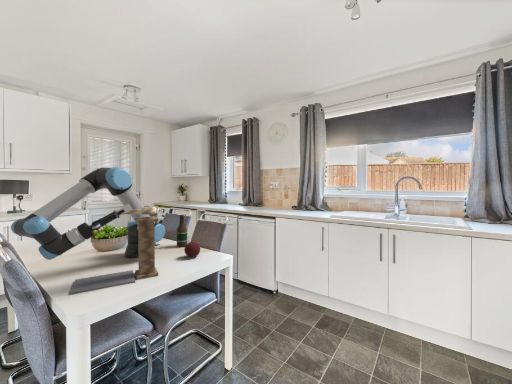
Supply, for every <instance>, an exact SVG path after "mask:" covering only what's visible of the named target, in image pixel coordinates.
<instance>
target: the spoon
mask: <svg viewBox="0 0 512 384" xmlns="http://www.w3.org/2000/svg"><path fill="white" fill-rule="evenodd" d="M114 210H115V212H116V211H118V209H117V210H116V209H114ZM139 213H142V214H145V215H148V214H149V215H155V214H157V207H154V206H148V207H147V206H146V207H145V206H144V208H142V209H132V210H129V211H128V212H126V213H124V214H122V215H130V214H139ZM122 215H121V216H122Z"/></svg>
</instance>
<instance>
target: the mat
mask: <svg viewBox="0 0 512 384" xmlns="http://www.w3.org/2000/svg"><path fill="white" fill-rule="evenodd" d="M135 277H136V276H135V274H134V270H133V269H131V270H126V271H120V272H119V271H118V272H113V273H107V274H101V275H94V276H88V277H83V278H77V279H75V280H74V282H73V285H72V288H71V290H70V295H75V294H80V293H85V292H90V291H97V290H102V289H108V288H112V287H118V286H123V285H128V284H134V283H136V278H135Z"/></svg>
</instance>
